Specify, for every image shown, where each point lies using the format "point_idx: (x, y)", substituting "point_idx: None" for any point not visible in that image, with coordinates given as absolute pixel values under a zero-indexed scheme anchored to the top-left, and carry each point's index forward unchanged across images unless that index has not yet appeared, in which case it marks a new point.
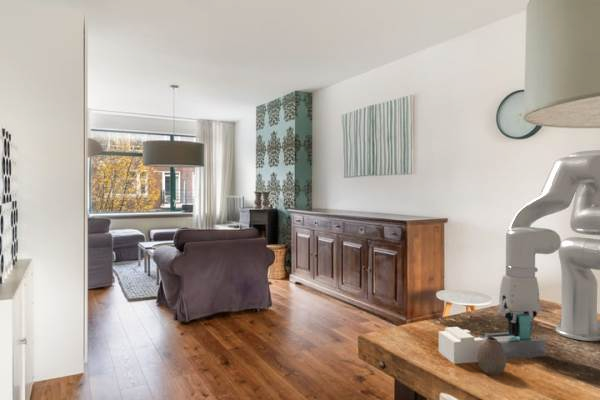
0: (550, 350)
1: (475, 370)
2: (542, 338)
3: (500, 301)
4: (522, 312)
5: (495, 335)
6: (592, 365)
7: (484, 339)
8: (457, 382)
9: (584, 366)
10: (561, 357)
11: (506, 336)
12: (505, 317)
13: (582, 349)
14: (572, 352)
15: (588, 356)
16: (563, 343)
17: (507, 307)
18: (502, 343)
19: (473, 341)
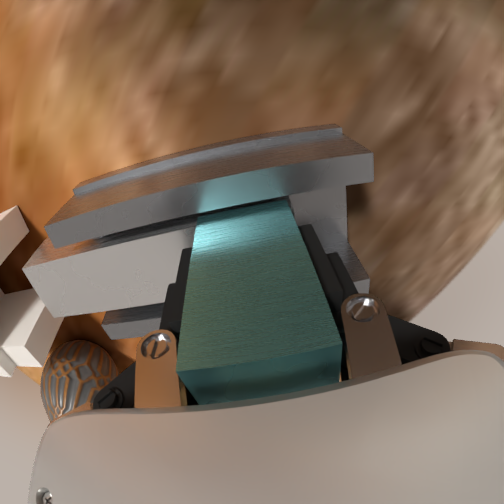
0: (403, 194)
1: (53, 345)
2: (368, 280)
3: (47, 499)
4: (332, 377)
5: (101, 233)
6: (421, 306)
7: (46, 286)
8: (33, 376)
9: (395, 315)
10: (388, 260)
11: (168, 241)
12: (123, 375)
13: (500, 193)
14: (458, 216)
15: (469, 248)
16: (493, 130)
17: (144, 417)
18: (118, 337)
19: (15, 363)
